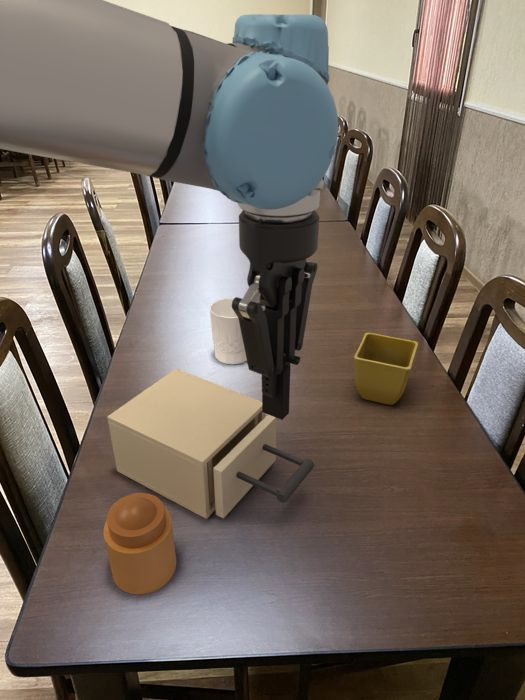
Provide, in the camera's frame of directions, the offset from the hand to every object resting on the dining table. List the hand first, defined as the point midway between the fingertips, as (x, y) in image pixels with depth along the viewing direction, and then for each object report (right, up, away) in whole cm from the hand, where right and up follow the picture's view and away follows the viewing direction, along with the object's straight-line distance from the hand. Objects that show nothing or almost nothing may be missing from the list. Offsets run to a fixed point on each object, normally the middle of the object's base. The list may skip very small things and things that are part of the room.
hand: (275, 412), depth 62 cm
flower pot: (+18, -1, +28) cm, 33 cm away
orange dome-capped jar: (-15, -17, -1) cm, 23 cm away
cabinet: (-11, -9, +14) cm, 20 cm away
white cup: (-7, +6, +39) cm, 40 cm away
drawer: (-6, -10, +10) cm, 15 cm away
